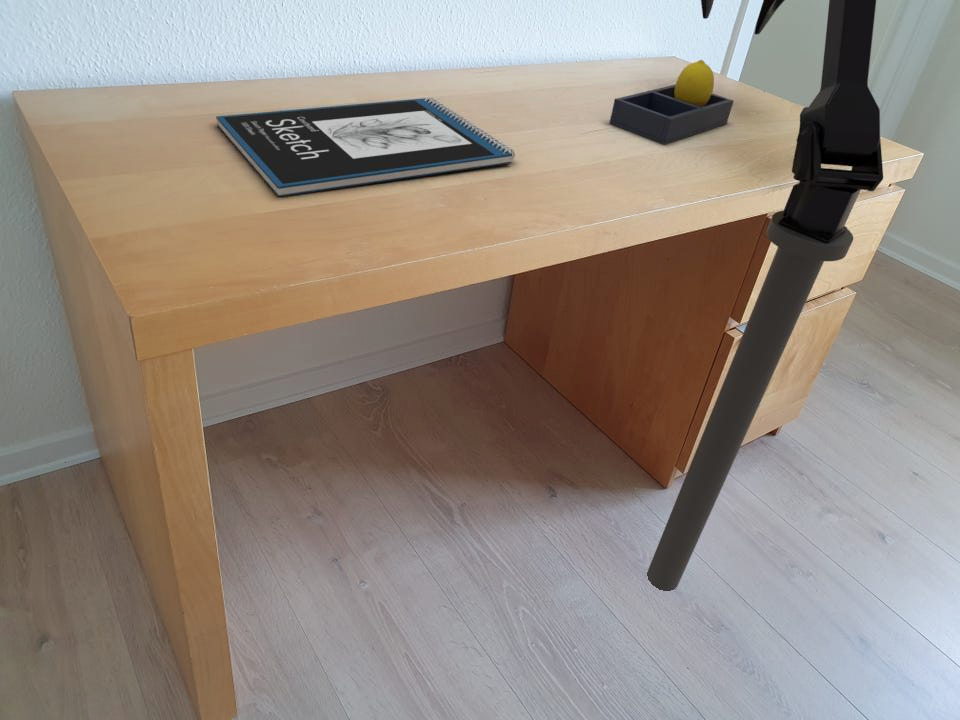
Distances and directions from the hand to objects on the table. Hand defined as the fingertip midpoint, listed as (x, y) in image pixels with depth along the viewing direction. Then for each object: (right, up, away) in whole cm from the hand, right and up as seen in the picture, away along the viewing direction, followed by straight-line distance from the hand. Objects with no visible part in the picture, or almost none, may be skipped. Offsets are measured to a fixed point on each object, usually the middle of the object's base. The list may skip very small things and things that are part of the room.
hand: (730, 26), depth 113 cm
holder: (-11, -17, -5) cm, 21 cm away
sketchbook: (-53, -27, -26) cm, 65 cm away
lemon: (-8, -15, -2) cm, 17 cm away
